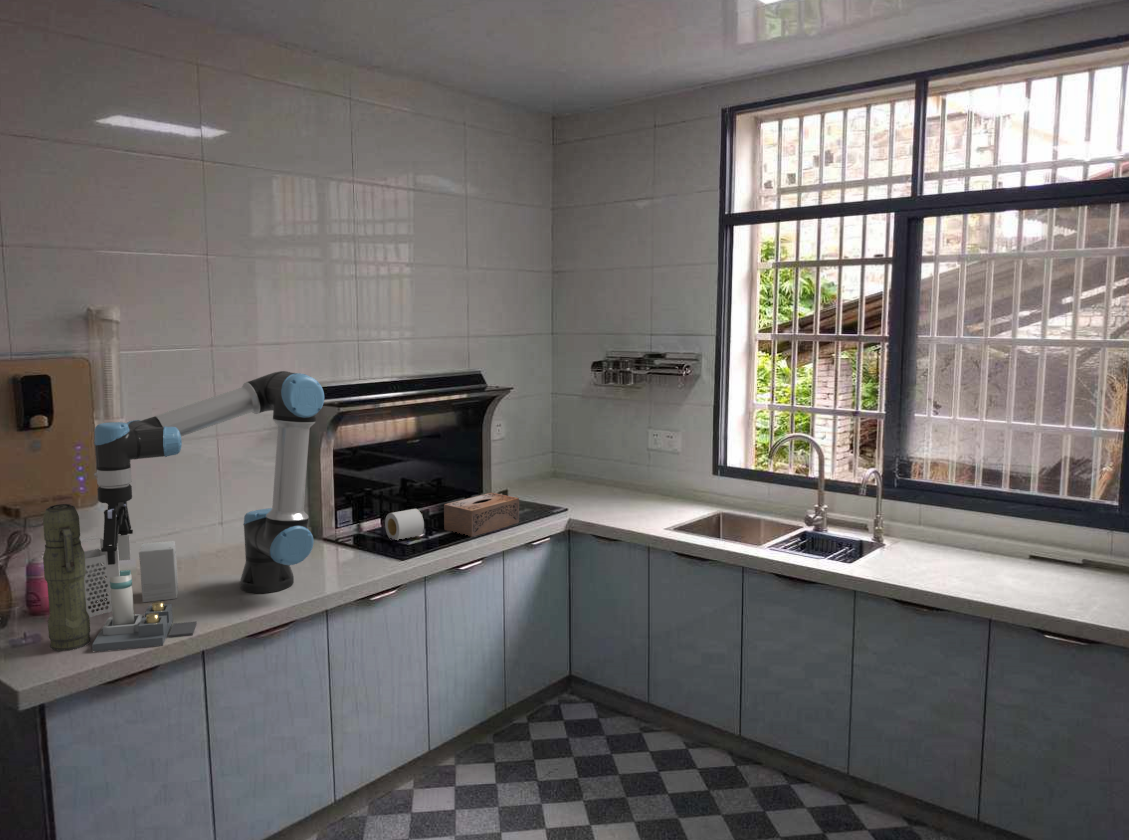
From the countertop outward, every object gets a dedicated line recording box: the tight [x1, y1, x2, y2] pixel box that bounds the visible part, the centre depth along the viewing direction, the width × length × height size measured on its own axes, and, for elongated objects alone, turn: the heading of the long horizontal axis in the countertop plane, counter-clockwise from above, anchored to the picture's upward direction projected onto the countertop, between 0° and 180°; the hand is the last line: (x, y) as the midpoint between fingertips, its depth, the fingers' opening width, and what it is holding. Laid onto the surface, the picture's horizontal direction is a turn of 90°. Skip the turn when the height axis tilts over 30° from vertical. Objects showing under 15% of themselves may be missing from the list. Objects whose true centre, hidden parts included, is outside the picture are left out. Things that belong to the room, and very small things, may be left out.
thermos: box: [42, 503, 91, 652], centre depth 207 cm, size 9×12×35 cm
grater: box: [80, 535, 112, 618], centre depth 231 cm, size 10×10×20 cm
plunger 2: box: [146, 613, 159, 624], centre depth 212 cm, size 3×3×4 cm
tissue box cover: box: [443, 492, 520, 538], centre depth 321 cm, size 26×14×10 cm, turn 141°
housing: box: [91, 603, 174, 652], centre depth 215 cm, size 16×16×5 cm
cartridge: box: [110, 569, 135, 626], centre depth 214 cm, size 5×5×15 cm
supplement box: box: [138, 540, 179, 603], centre depth 243 cm, size 9×9×15 cm
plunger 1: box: [151, 600, 165, 611], centre depth 220 cm, size 3×3×4 cm
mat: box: [168, 621, 198, 638], centre depth 219 cm, size 6×8×1 cm
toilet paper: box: [384, 508, 425, 541], centre depth 304 cm, size 10×10×10 cm
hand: (119, 567), depth 212 cm, fingers open, 13 cm apart
